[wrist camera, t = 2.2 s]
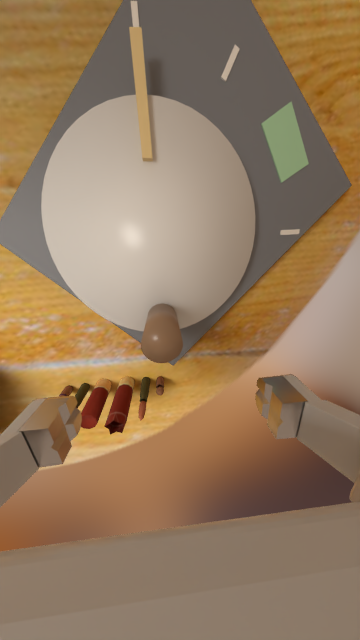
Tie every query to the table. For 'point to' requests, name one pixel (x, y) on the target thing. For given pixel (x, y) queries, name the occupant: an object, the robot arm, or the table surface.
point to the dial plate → (219, 108)
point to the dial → (148, 213)
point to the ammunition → (119, 404)
